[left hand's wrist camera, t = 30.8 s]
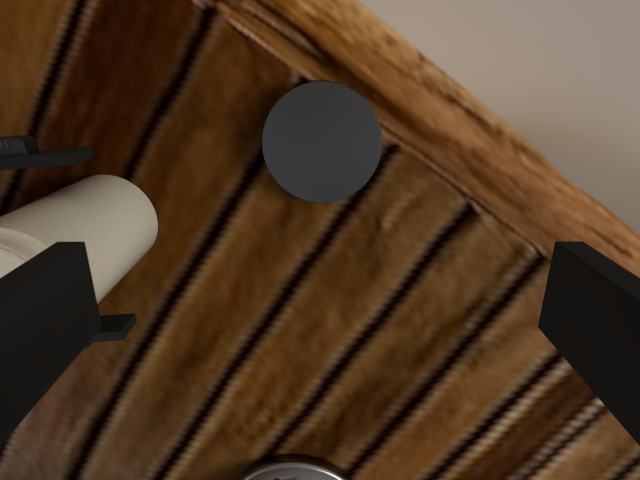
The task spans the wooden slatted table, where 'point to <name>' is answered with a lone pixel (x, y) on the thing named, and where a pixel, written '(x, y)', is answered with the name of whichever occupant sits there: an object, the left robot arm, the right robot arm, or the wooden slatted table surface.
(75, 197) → the jar
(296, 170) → the lid
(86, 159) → the right robot arm
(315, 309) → the wooden slatted table surface
